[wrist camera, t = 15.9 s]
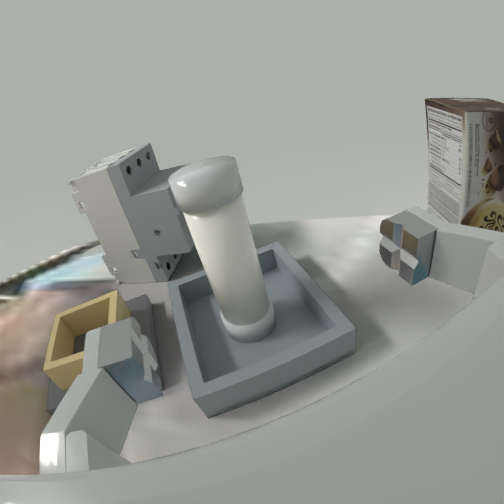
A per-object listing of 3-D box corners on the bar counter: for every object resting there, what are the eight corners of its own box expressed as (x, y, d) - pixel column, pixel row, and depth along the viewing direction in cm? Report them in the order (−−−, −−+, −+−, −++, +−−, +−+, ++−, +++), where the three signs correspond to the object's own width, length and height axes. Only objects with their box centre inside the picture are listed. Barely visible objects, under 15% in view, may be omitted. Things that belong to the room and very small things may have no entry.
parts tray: (208, 417, 19) (193, 399, 18) (178, 305, 31) (167, 283, 29) (354, 352, 21) (355, 328, 20) (282, 264, 33) (277, 240, 31)
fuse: (235, 350, 24) (170, 190, 16) (221, 317, 27) (166, 172, 20) (284, 330, 24) (244, 164, 17) (265, 299, 28) (225, 152, 20)
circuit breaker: (215, 278, 34) (170, 148, 26) (117, 284, 37) (66, 182, 29) (229, 241, 40) (196, 130, 32) (140, 252, 43) (100, 159, 35)
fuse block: (56, 418, 20) (25, 392, 18) (66, 335, 30) (46, 308, 28) (163, 389, 22) (137, 357, 20) (151, 303, 32) (134, 272, 30)
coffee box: (478, 229, 29) (486, 97, 20) (508, 258, 24) (529, 111, 15) (421, 244, 30) (422, 96, 21) (450, 279, 25) (465, 108, 16)
